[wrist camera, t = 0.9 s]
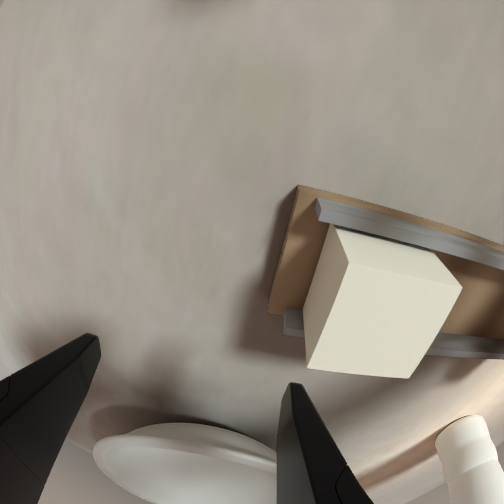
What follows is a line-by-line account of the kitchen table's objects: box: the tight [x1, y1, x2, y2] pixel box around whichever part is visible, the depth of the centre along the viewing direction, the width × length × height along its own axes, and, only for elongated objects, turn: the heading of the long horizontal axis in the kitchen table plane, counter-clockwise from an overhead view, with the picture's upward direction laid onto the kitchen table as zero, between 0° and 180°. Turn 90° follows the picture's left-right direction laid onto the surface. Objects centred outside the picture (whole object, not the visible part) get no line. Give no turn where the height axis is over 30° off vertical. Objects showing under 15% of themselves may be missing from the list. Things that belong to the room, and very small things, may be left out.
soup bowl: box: [92, 423, 277, 504], centre depth 28 cm, size 24×24×7 cm
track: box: [268, 185, 504, 359], centre depth 17 cm, size 24×8×6 cm, turn 79°
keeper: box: [303, 223, 463, 378], centre depth 16 cm, size 6×6×5 cm
